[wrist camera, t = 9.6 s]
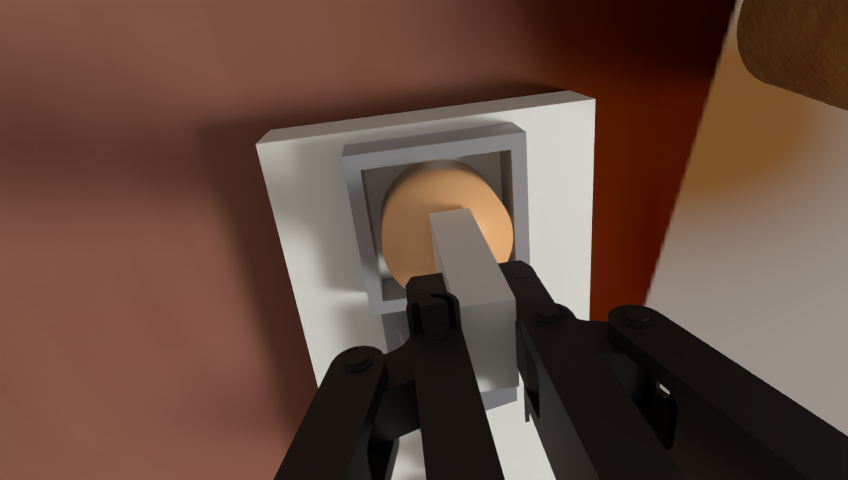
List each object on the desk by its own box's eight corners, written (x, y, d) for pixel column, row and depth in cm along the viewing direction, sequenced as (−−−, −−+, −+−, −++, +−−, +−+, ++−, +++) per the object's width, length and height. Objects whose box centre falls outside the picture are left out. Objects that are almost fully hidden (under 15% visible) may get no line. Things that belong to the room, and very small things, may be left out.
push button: (389, 274, 22) (392, 309, 19) (372, 167, 20) (372, 189, 17) (498, 258, 22) (515, 290, 20) (491, 151, 20) (510, 170, 18)
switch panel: (353, 472, 31) (349, 555, 26) (269, 130, 22) (240, 159, 17) (566, 437, 32) (601, 513, 27) (568, 90, 23) (622, 107, 18)
